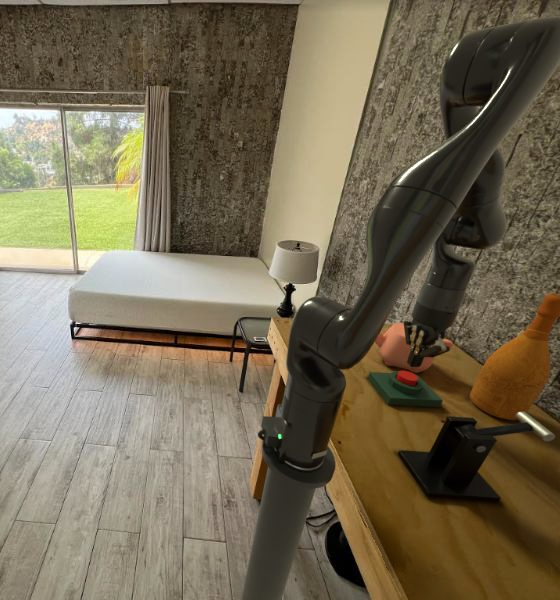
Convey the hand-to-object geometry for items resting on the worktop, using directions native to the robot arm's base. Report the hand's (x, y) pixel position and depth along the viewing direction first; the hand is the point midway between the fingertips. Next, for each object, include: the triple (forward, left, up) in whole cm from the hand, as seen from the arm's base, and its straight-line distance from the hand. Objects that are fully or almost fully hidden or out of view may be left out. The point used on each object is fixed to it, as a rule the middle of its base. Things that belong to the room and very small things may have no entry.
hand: (412, 365), depth 78 cm
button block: (0, 0, -9) cm, 9 cm away
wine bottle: (+19, -4, -9) cm, 21 cm away
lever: (-1, -24, +3) cm, 24 cm away
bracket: (-6, -24, -9) cm, 26 cm away
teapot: (+7, +14, -9) cm, 18 cm away
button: (0, 0, -5) cm, 5 cm away
